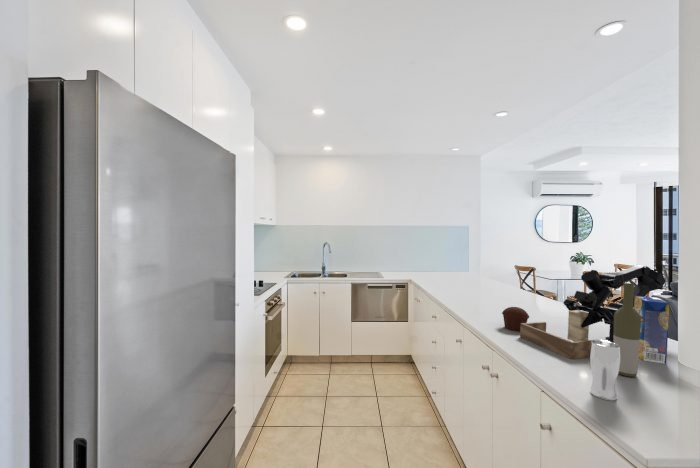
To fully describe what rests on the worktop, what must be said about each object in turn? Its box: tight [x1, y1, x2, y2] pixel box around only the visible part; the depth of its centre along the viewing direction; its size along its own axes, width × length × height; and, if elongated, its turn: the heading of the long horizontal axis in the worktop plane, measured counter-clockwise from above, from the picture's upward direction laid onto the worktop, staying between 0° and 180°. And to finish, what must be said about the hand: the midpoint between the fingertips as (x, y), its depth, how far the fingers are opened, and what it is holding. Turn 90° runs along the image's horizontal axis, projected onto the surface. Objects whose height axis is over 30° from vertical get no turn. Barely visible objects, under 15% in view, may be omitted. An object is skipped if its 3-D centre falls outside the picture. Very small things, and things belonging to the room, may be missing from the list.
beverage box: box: [634, 296, 670, 365], centre depth 127 cm, size 7×11×22 cm, turn 155°
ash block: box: [567, 310, 590, 342], centre depth 140 cm, size 5×5×12 cm
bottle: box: [612, 282, 641, 378], centre depth 111 cm, size 7×7×30 cm
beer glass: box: [589, 339, 620, 402], centre depth 97 cm, size 7×7×15 cm
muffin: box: [501, 306, 530, 333], centre depth 159 cm, size 12×11×10 cm
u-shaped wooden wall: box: [519, 321, 593, 360], centre depth 137 cm, size 13×25×6 cm, turn 16°
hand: (575, 325), depth 139 cm, fingers closed on ash block, 5 cm apart
